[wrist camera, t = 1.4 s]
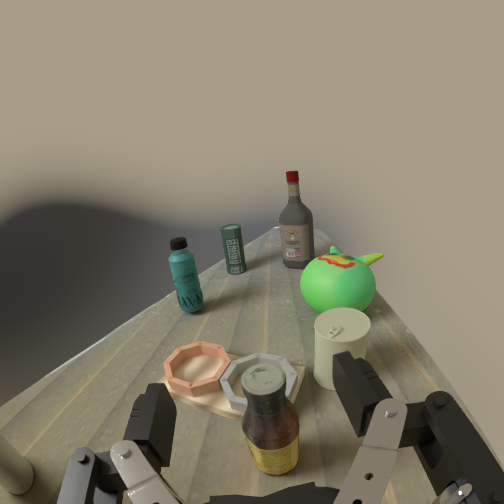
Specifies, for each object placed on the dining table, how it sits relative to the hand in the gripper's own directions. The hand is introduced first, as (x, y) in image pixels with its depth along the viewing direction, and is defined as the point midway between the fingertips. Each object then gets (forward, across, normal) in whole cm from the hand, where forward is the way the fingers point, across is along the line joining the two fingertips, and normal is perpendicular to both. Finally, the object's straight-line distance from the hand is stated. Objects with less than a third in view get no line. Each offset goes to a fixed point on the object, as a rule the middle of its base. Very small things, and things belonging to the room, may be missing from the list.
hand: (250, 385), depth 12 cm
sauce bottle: (+11, 0, +28) cm, 30 cm away
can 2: (+26, -14, +27) cm, 40 cm away
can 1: (+78, +2, +23) cm, 81 cm away
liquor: (+76, -19, +24) cm, 81 cm away
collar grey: (+25, 0, +24) cm, 35 cm away
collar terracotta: (+30, +11, +24) cm, 40 cm away
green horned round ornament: (+46, -21, +26) cm, 57 cm away
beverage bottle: (+56, +14, +24) cm, 62 cm away
